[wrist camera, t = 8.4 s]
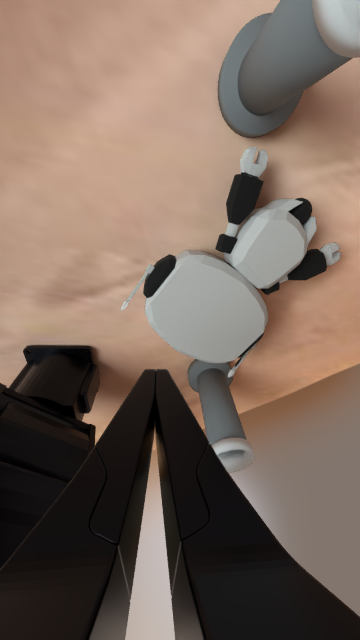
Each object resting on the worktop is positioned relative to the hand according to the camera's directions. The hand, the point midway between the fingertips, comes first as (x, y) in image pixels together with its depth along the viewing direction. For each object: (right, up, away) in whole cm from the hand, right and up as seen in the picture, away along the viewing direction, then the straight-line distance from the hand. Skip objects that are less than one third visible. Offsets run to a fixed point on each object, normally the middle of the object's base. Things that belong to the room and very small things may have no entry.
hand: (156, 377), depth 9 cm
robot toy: (+5, +7, +12) cm, 15 cm away
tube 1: (+4, -4, +18) cm, 19 cm away
